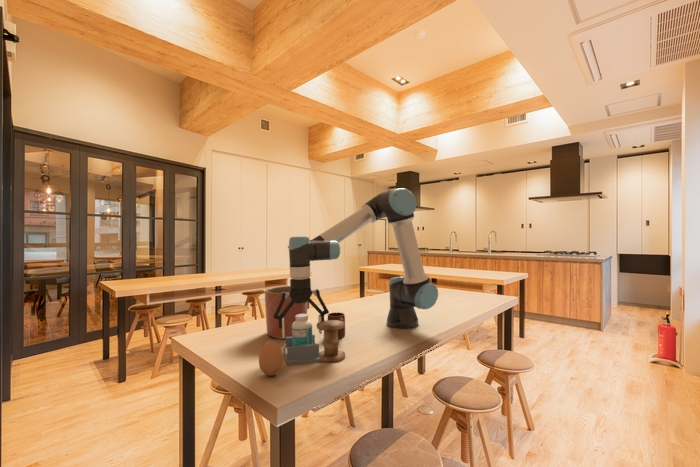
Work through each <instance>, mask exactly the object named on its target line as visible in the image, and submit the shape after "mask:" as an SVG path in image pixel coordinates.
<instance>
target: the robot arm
mask: <svg viewBox="0 0 700 467" xmlns="http://www.w3.org/2000/svg"><path fill="white" fill-rule="evenodd" d="M416 208H417V199H416V196H415V195H414V193H413V192H412V191H411V190H409V189H407V188H404V187H402V188H394V189H391V190H388V191H383V192H380V193H379V194H377V195H375V196H374V197H372V198H370V199H369V200H368V201H367V202H365V203H363V204H362V205H361V208H360V209H358V210H356V211H355V212H354V213H352V214H350V215H348V216H347V217H346V218H344V219H343V220H340V221H339V222H338V223H335V225H333V226H331V227H330V228H328V229H326V230H325V231H324V232H321V233H320V234H318V236H316V237H314V238H312V239H310V237H309V236H307V235H306V236H291V237H289V240H288V253H289V254H288V257H289V277H290V281H289V282H290V283H289V284H290V285H289V286H290V292H284V291H283V292H282V298H281V300H280V302H279V304H278V306H277V309H276V311H275V313H274V319H278V320H279V328H282V337H283V338H285V331H284V318H283V317H284V316H285V314H286V313H287V312H288V310H289V309H290V308H291V307H292V305H293V304H294V303H297V304H298V303H306V302H307V303H309V304H310V305H311V306H312V308H313V309H315V310H316V311H317V313H318V315H317V323H319V322H321V321H325V316H326V315H328V314H330V313H329V309H328V308H327V306H326V304H325V302H324V300H323V298H322V296H321V293H320V289H318V288H315V289H313V290H312V286H311V284H312V283H311V281H312V280H311V262H314V261H332V260H337V259H339V257H340V255H341V246H340V243H341V242H342V241H344V240H345V239H347V238H348V237H350V236H352V235H353V234H354V233H356V232H358V231H359V230H361V229H362V228H364V227H365V226H367V225H368V224H370V223H371V224H372V223H375V222H377V221H379V220H382V219H385V218H386V220H387V223H388V224H389V225H391V226H392V229H393V233H394V237H395V240H396V246H397V249H398V254H399V256H400V261H401V264H402V269H403V272H404V276H395V277H391V278H390V279H389V283H388V284H389V285H388V288H389V310H388V314H387V317H386V325H387V326H389V327H391V328H396V329H410V328H411V329H412V328H414V327H415V328H416V327H418V325H419V318H418V316H417V311H416V309H415V308H417V309H419V310H429V309H431V308H432V307H434V306H435V305H436V304H437V300H438V299H439V290H438V287H437V286H436V285H435V284H434V283H431V279H430V276H429V274H427V273H426V272H425V269H424V266H423V261H422V257H421V253H420V249H419V246H418V240H417V237H416V233H415V229H414V225H413V220H414V218H415V213H414V212H415V211H416ZM289 295H290V297H291V298H292V299H291V300H290V302H289V303H288V305H287V306H286V307H285V309H284V310H283V311H282V312H281V314H280V315H278V314H279V312H280V310H281V307H282V305H283V303H284V301H285V298H287V297H288V296H289ZM312 295H314V297H316V298H317V300H318V302H319V303H320V305H321V307H322V309H323V310H322V309H321V308H320V307H319V306H318V305H317V304H316V303H315V302H314V301H313V299H311V297H312ZM322 331H323V330H319V329H318V333H319V335H322V334H323V332H322ZM285 339H286V338H285Z"/></svg>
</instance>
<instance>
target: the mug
mask: <svg viewBox="0 0 700 467" xmlns="http://www.w3.org/2000/svg"><path fill="white" fill-rule="evenodd" d="M327 320H338V321H342V322H344V324H345V326H344V328H342V329H339V330H338V339H341V338H344V337H346V317H345V313H344V312H331V313H328V314H327Z"/></svg>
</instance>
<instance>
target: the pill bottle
mask: <svg viewBox="0 0 700 467" xmlns="http://www.w3.org/2000/svg"><path fill="white" fill-rule="evenodd" d="M295 319H296V321H294V322H293V324H292V336H291V337H292V342H293V346H301V345H310V344H313V339H312V334H313V323H312V321H311V320H310V319H309V314H308V313H307V314H298V315H296V316H295Z"/></svg>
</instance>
